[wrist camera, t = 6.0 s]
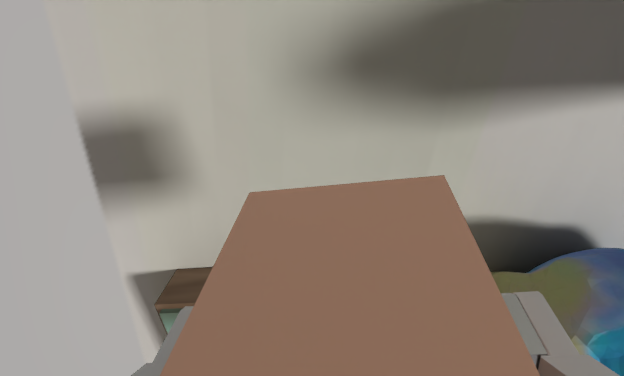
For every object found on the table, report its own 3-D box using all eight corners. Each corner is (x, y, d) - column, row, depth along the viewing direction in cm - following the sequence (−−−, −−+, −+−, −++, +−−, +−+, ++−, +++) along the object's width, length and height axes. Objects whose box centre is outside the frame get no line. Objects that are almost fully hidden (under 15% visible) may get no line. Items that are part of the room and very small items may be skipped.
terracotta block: (249, 192, 10) (139, 416, 5) (443, 175, 9) (560, 418, 4) (283, 326, 12) (232, 577, 7) (442, 321, 12) (516, 597, 6)
